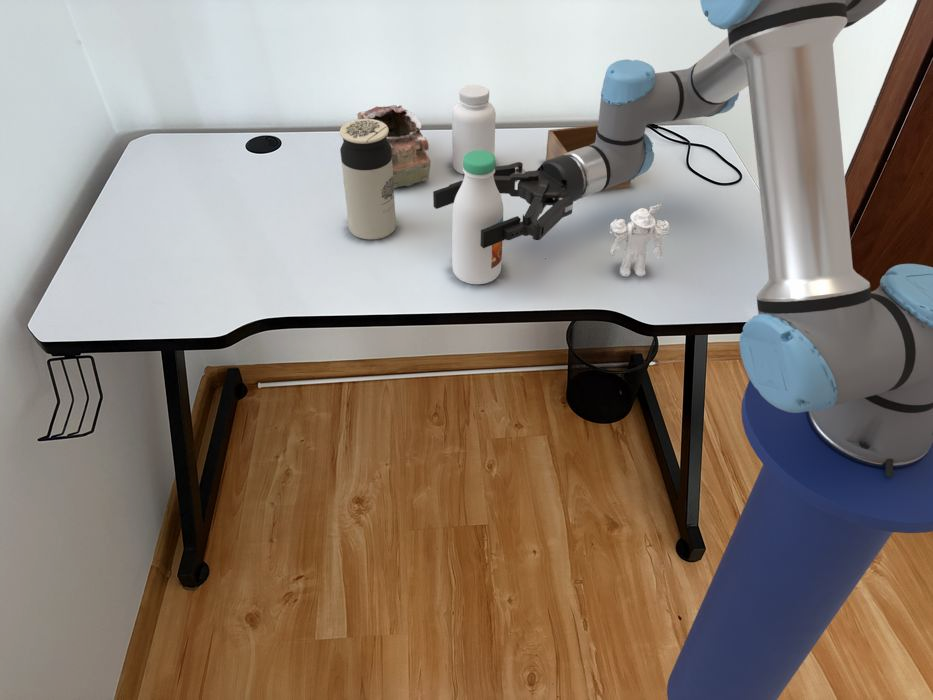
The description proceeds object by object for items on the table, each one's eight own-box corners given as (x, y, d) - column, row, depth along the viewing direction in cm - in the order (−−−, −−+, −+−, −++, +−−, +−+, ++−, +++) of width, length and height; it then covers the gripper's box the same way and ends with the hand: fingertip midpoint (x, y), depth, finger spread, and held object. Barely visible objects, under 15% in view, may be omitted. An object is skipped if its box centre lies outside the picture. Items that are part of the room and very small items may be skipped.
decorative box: (361, 198, 136) (356, 148, 129) (343, 146, 150) (338, 99, 143) (432, 188, 138) (431, 139, 132) (408, 138, 153) (406, 91, 146)
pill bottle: (473, 152, 149) (475, 77, 138) (502, 167, 144) (506, 91, 134) (443, 165, 145) (442, 89, 134) (472, 181, 140) (473, 104, 130)
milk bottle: (478, 292, 116) (481, 176, 103) (442, 271, 120) (440, 157, 106) (510, 270, 120) (518, 156, 107) (474, 251, 124) (477, 138, 111)
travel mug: (339, 229, 128) (327, 131, 116) (371, 209, 133) (362, 112, 121) (374, 246, 125) (365, 147, 112) (405, 225, 129) (400, 127, 117)
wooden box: (629, 187, 139) (635, 153, 135) (567, 195, 137) (571, 161, 132) (604, 155, 148) (609, 123, 143) (545, 162, 146) (548, 130, 141)
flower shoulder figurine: (658, 264, 122) (672, 199, 114) (662, 279, 119) (677, 214, 111) (602, 263, 122) (612, 198, 114) (604, 278, 119) (615, 212, 111)
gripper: (619, 232, 116) (505, 281, 107) (522, 166, 130) (415, 204, 121) (626, 189, 111) (507, 236, 101) (525, 126, 125) (413, 162, 116)
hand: (457, 219), depth 111 cm, fingers open, 12 cm apart
